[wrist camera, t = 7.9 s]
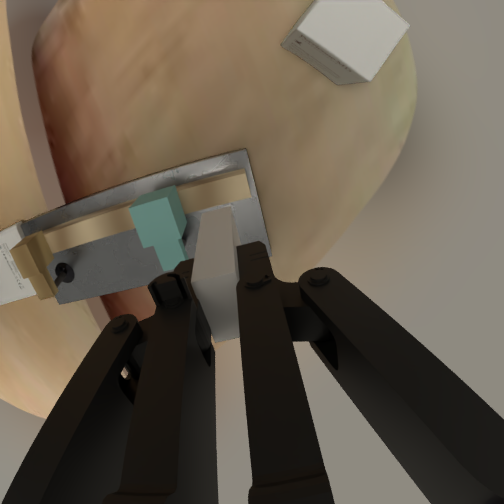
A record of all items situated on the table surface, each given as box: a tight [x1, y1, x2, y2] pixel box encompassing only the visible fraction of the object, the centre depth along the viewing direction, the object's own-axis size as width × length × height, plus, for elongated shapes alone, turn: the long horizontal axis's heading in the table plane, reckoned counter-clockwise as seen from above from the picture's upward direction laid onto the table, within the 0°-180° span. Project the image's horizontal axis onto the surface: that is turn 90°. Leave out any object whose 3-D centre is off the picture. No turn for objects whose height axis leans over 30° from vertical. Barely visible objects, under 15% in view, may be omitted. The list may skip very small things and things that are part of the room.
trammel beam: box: [9, 168, 251, 300], centre depth 26 cm, size 23×6×5 cm, turn 103°
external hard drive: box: [0, 221, 37, 305], centre depth 29 cm, size 2×8×12 cm
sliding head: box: [128, 185, 189, 271], centre depth 25 cm, size 3×6×5 cm, turn 13°
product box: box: [281, 0, 410, 85], centre depth 19 cm, size 6×6×7 cm
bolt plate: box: [20, 148, 272, 305], centre depth 29 cm, size 24×10×1 cm, turn 103°
